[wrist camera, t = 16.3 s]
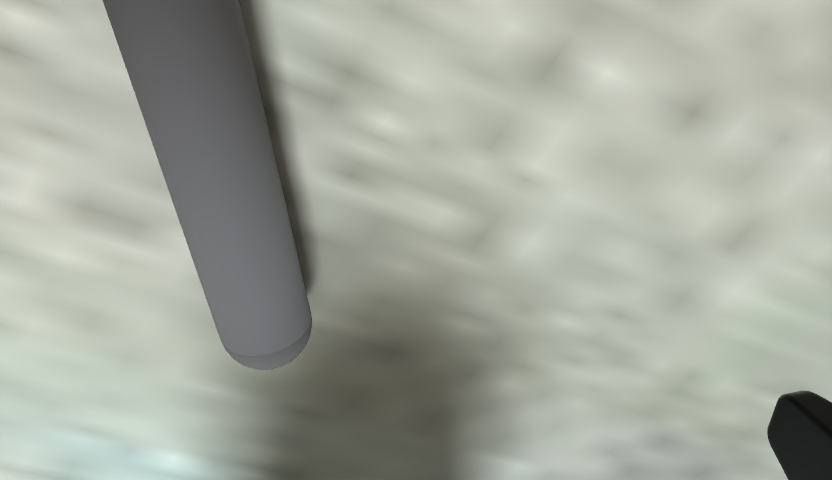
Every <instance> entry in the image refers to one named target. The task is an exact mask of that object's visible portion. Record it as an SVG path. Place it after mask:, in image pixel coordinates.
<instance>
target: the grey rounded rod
mask: <svg viewBox="0 0 832 480" xmlns="http://www.w3.org/2000/svg"><path fill="white" fill-rule="evenodd" d="M103 2H104V5H105V8H106V11H107V14H108V17H109V20H110V22H111V25H112V28H113V31H114V34H115V37H116V40H117V43H118V45H119V48H120V51H121V54H122V57H123V60H124V63H125V66H126V69H127V71H128V74H129V77H130V80H131V83H132V86H133V89H134V92H135V94H136V97H137V100H138V103H139V106H140V109H141V112H142V115H143V117H144V120H145V123H146V126H147V129H148V132H149V135H150V138H151V140H152V143H153V146H154V149H155V152H156V155H157V158H158V161H159V164H160V166H161V169H162V172H163V175H164V178H165V181H166V184H167V187H168V189H169V192H170V195H171V198H172V201H173V204H174V207H175V210H176V212H177V215H178V218H179V221H180V224H181V227H182V230H183V233H184V236H185V238H186V241H187V244H188V247H189V250H190V253H191V256H192V259H193V261H194V264H195V267H196V270H197V273H198V276H199V279H200V282H201V284H202V287H203V290H204V293H205V296H206V299H207V302H208V305H209V307H210V310H211V313H212V316H213V319H214V322H215V325H216V328H217V331H218V333H219V336H220V339H221V341H222V344H223V345H224V347H225V349H226V351H227V352H228V353H229V354H230V355H231V356H232V357H233V359H235V360H236V361H238V362H239V363H241V364H243V365H244V366H247V367H250V368H254V369H260V370H268V369H274V368H278V367H281V366H283V365H286V364H287V363H289V362H291V361H292V360H293V359H294V358H296V357H297V356H298V355H299V353H300V352H301V351H302V350H303V349H304V347H305V345H306V344H307V341H308V339H309V336H310V333H311V327H312V318H311V312H310V307H309V303H308V299H307V294H306V290H305V285H304V281H303V277H302V272H301V268H300V264H299V259H298V255H297V251H296V246H295V242H294V238H293V233H292V229H291V225H290V220H289V216H288V212H287V207H286V203H285V199H284V194H283V190H282V186H281V181H280V177H279V172H278V168H277V164H276V159H275V155H274V151H273V146H272V142H271V138H270V133H269V129H268V125H267V120H266V116H265V112H264V107H263V103H262V99H261V94H260V90H259V86H258V81H257V77H256V73H255V68H254V64H253V59H252V55H251V51H250V46H249V42H248V38H247V33H246V29H245V25H244V20H243V16H242V12H241V7H240V3H239V0H103Z"/></svg>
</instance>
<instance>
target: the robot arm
mask: <svg viewBox="0 0 832 480" xmlns="http://www.w3.org/2000/svg"><path fill="white" fill-rule="evenodd" d="M767 434H768V439H769V442H770V445H771V447H772V449H773V451H774V453H775V455H776V457H777V459H778V461H779V463H780V464H781V466H782V468H783V470H784V472H785V474H786V476H787V478H788V480H832V402H830V401H828V400H826V399H824V398H823V397H821V396H819V395H817V394H815V393H813V392H810V391H799V392H793V393H788V394H784V395H782V396H781V397H780V398H779V399H778V401H777V404H776V406H775V409H774V412H773V415H772V417H771V420H770V423H769V426H768V432H767Z"/></svg>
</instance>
